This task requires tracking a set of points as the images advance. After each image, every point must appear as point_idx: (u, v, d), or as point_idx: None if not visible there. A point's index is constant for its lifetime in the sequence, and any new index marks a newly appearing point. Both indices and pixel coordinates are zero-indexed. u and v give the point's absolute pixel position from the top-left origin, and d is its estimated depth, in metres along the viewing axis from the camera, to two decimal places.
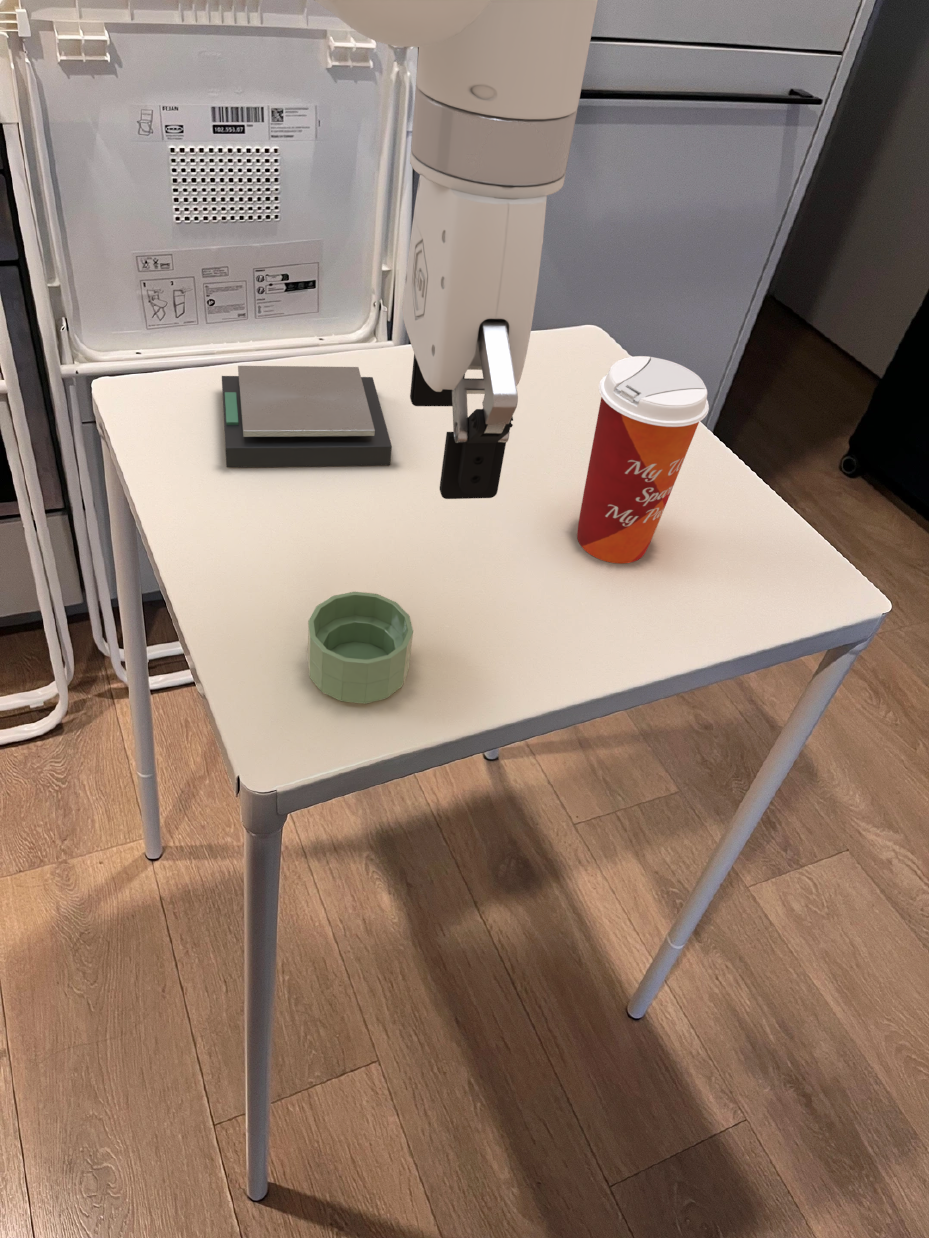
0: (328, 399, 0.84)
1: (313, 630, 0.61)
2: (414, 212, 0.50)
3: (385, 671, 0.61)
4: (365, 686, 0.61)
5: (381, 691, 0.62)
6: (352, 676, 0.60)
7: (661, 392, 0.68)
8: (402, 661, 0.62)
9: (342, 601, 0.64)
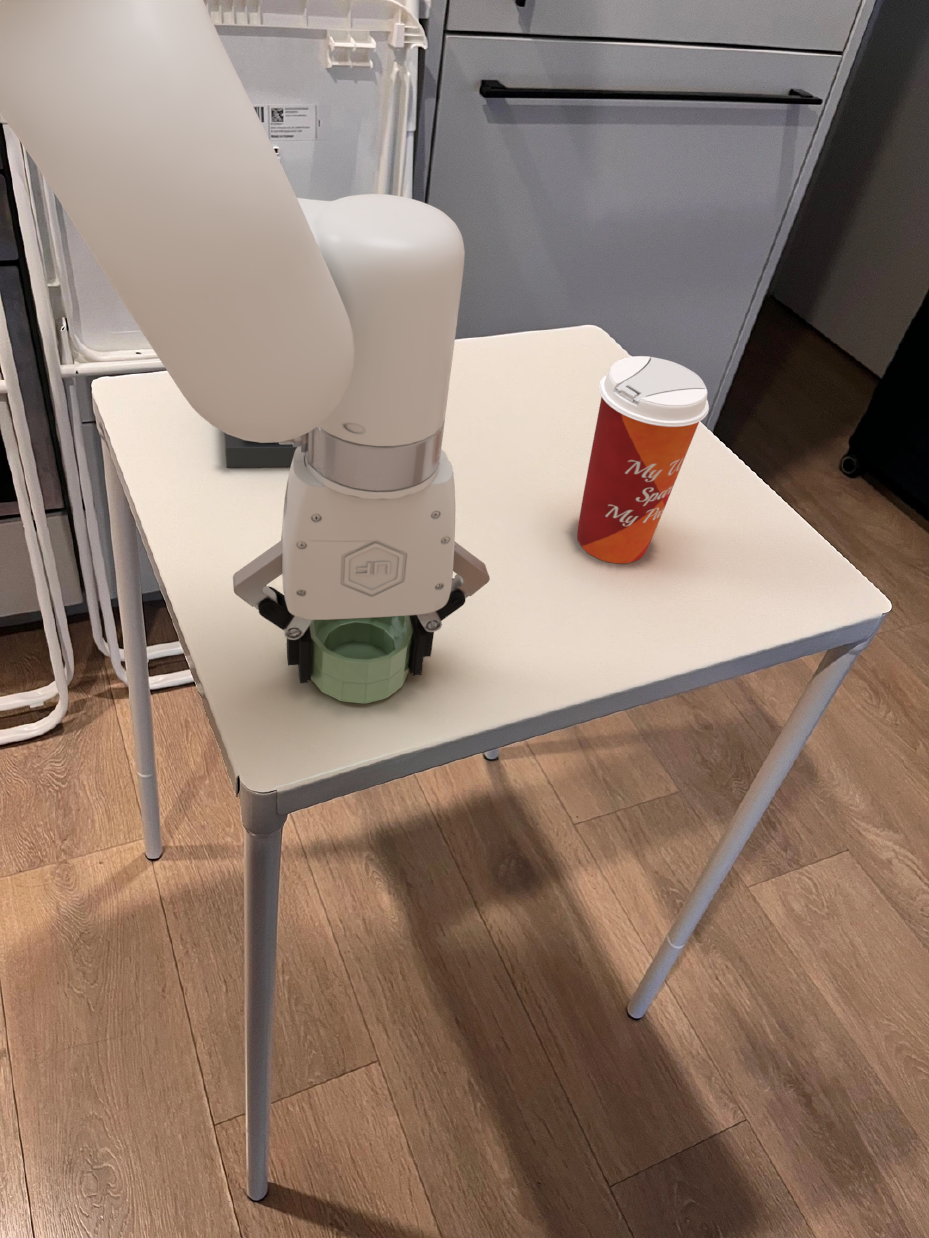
0: None
1: (313, 630, 0.61)
2: (307, 541, 0.53)
3: (385, 671, 0.61)
4: (365, 686, 0.61)
5: (381, 691, 0.62)
6: (352, 676, 0.60)
7: (661, 392, 0.68)
8: (402, 661, 0.62)
9: None
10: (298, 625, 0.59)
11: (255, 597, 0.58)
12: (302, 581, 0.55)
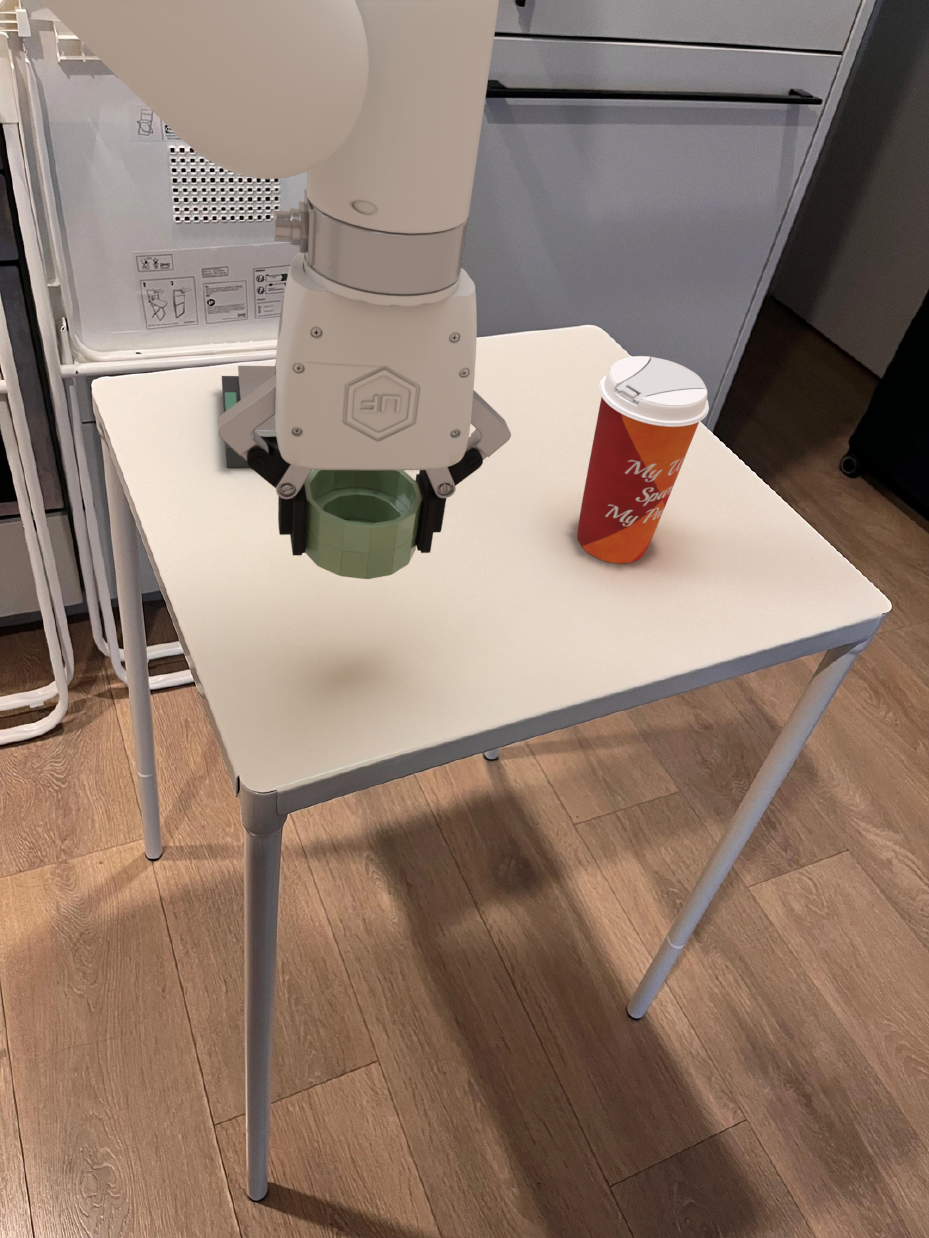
0: None
1: (309, 492, 0.54)
2: (306, 363, 0.46)
3: (391, 540, 0.53)
4: (367, 557, 0.54)
5: (385, 565, 0.55)
6: (353, 543, 0.53)
7: (661, 392, 0.68)
8: (410, 531, 0.54)
9: None
10: (292, 480, 0.51)
11: (243, 443, 0.50)
12: (298, 416, 0.47)
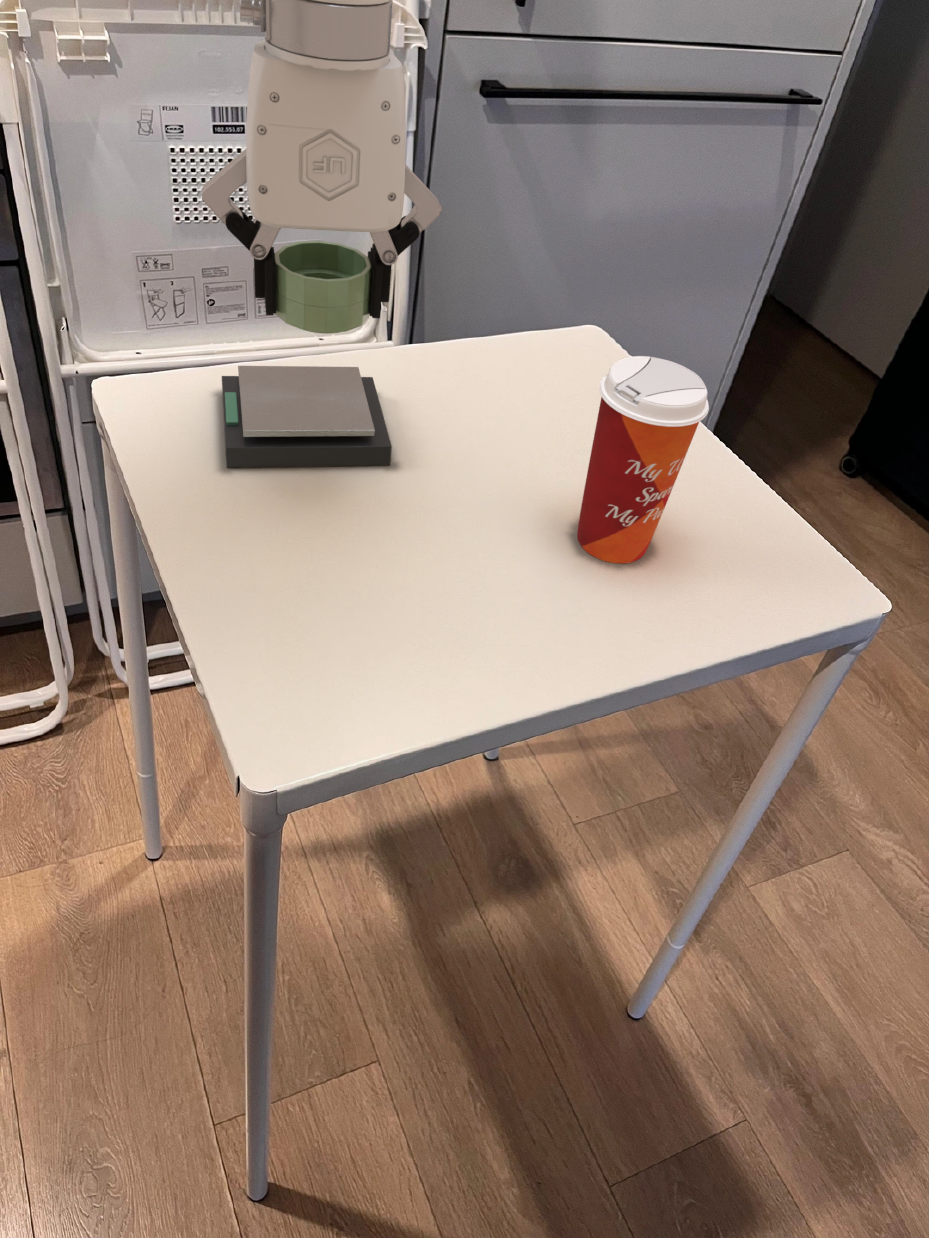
0: (328, 399, 0.84)
1: (278, 259, 0.66)
2: (267, 125, 0.58)
3: (344, 296, 0.65)
4: (326, 311, 0.66)
5: (341, 321, 0.67)
6: (313, 297, 0.65)
7: (661, 392, 0.68)
8: (361, 292, 0.66)
9: (307, 248, 0.69)
10: (262, 242, 0.64)
11: (222, 207, 0.62)
12: (263, 175, 0.60)
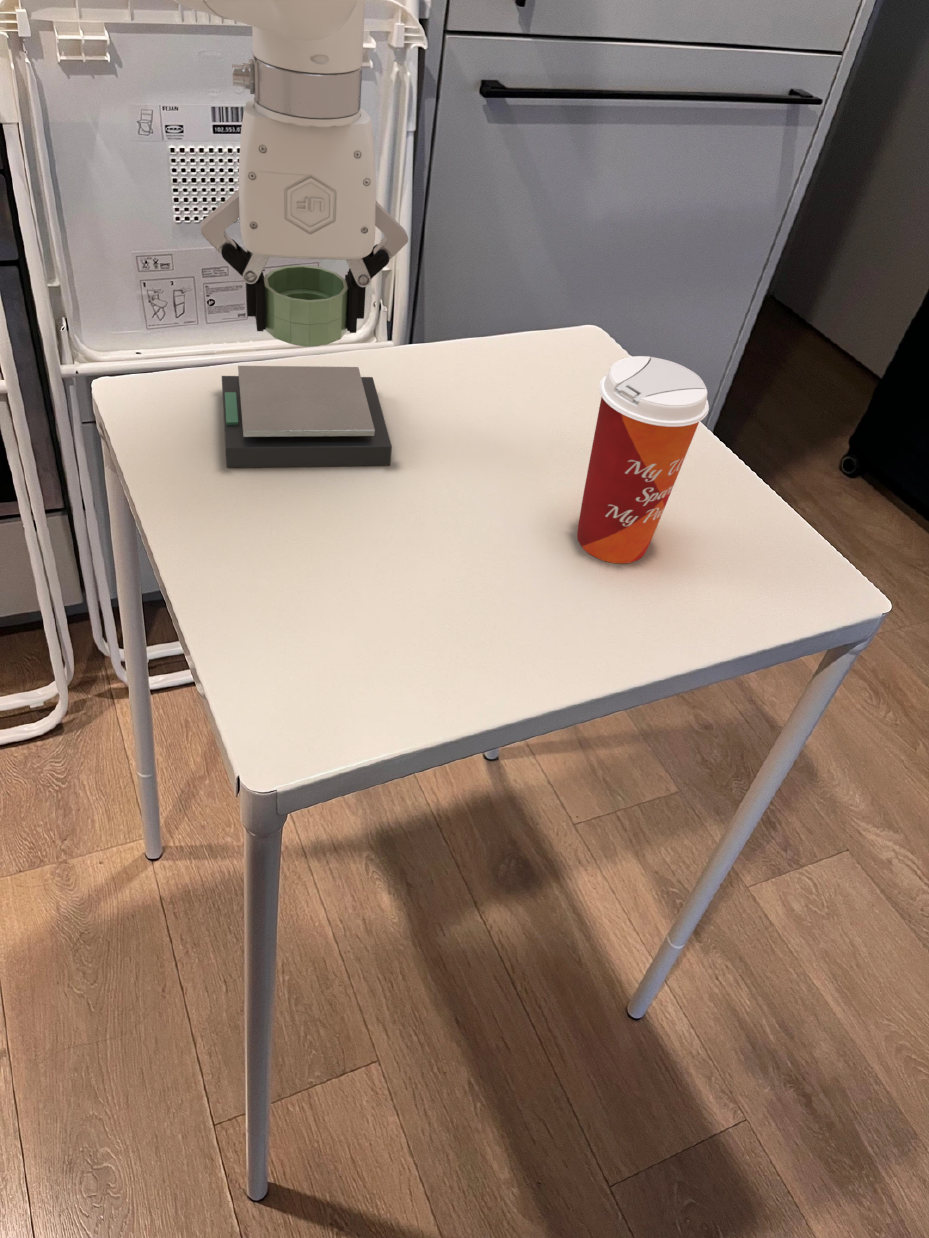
0: (328, 399, 0.84)
1: (267, 282, 0.76)
2: (257, 172, 0.68)
3: (324, 314, 0.76)
4: (309, 327, 0.76)
5: (322, 336, 0.77)
6: (298, 316, 0.75)
7: (661, 392, 0.68)
8: (339, 310, 0.77)
9: (292, 272, 0.79)
10: (253, 269, 0.74)
11: (218, 240, 0.72)
12: (254, 213, 0.70)
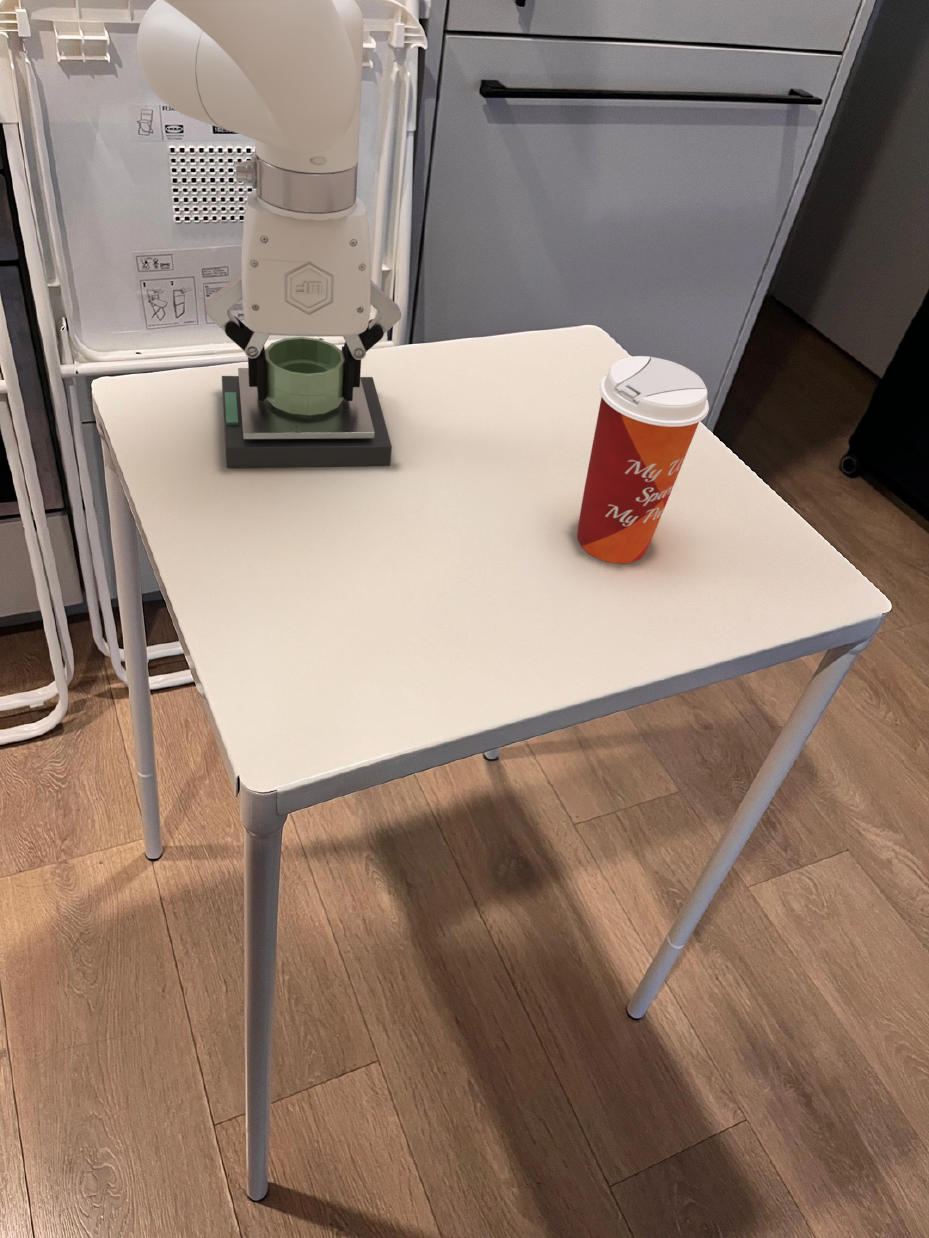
0: None
1: (268, 356, 0.80)
2: (258, 259, 0.72)
3: (322, 386, 0.80)
4: (307, 398, 0.80)
5: (320, 405, 0.81)
6: (297, 388, 0.79)
7: (661, 392, 0.68)
8: (336, 382, 0.81)
9: (291, 343, 0.83)
10: (255, 345, 0.78)
11: (222, 319, 0.77)
12: (256, 296, 0.74)
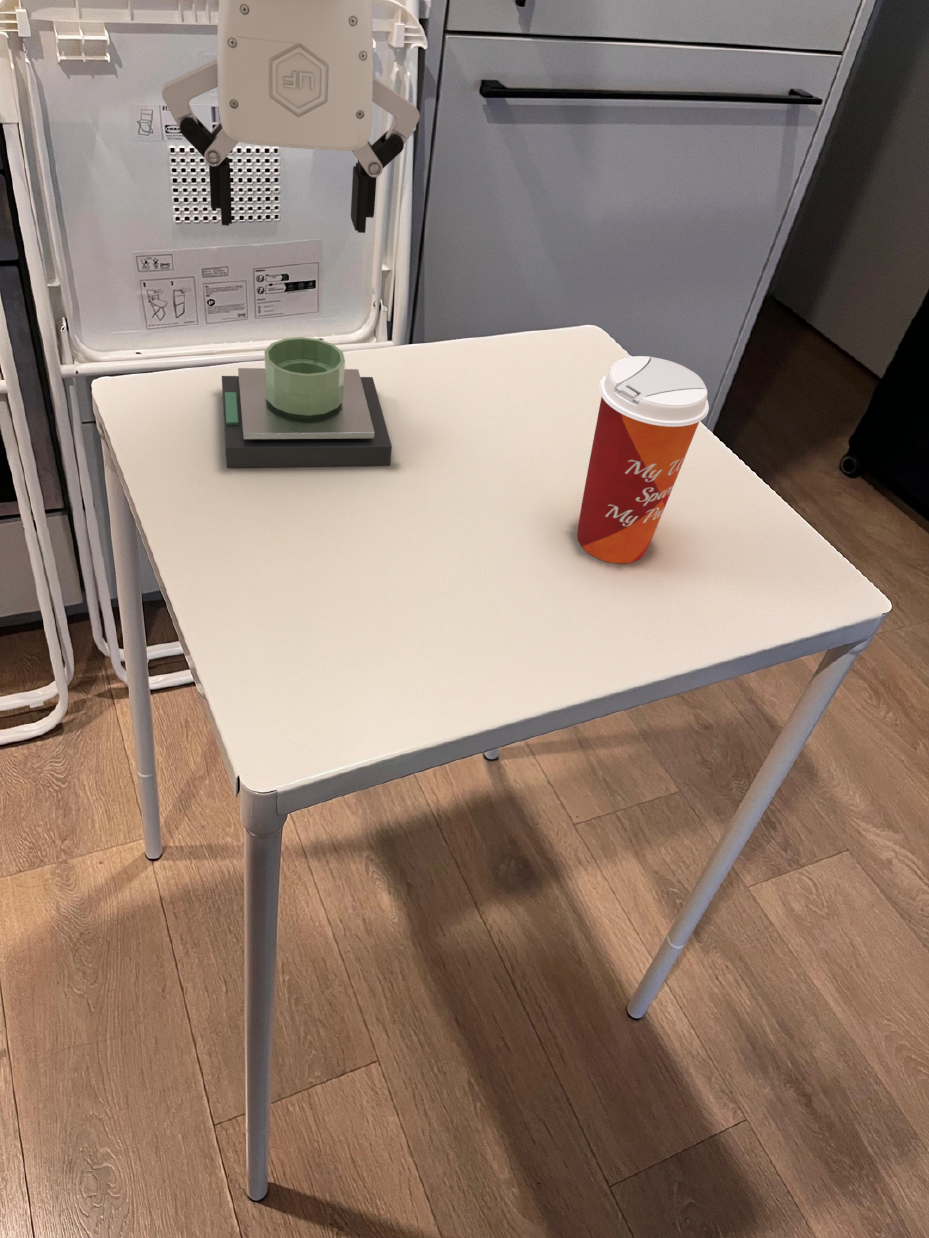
0: None
1: (268, 356, 0.80)
2: (237, 37, 0.59)
3: (322, 386, 0.80)
4: (307, 398, 0.80)
5: (320, 406, 0.81)
6: (297, 388, 0.79)
7: (661, 392, 0.68)
8: (336, 382, 0.81)
9: (292, 343, 0.83)
10: (219, 149, 0.65)
11: (180, 109, 0.63)
12: (234, 89, 0.61)
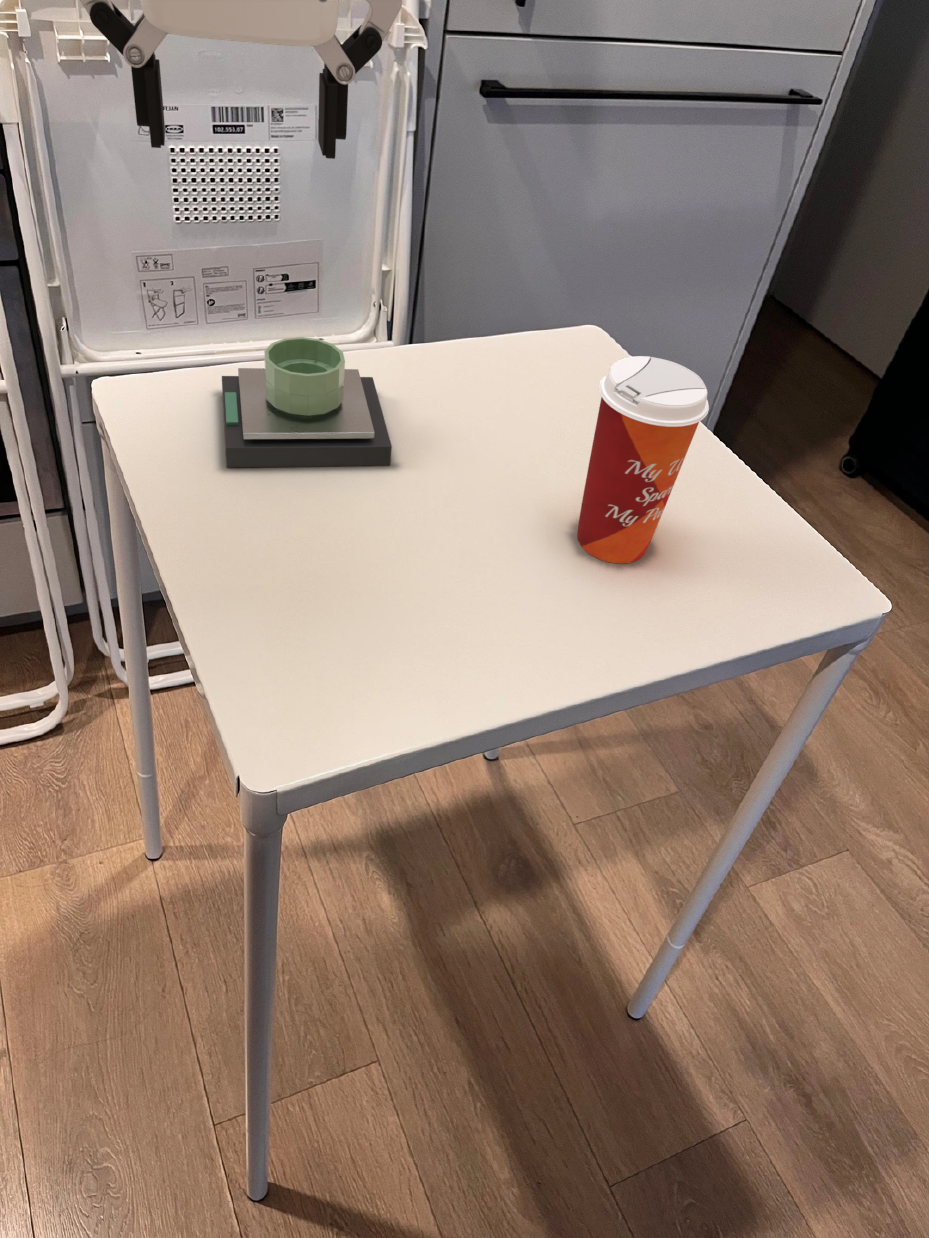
0: None
1: (268, 356, 0.80)
2: None
3: (322, 386, 0.80)
4: (307, 398, 0.80)
5: (320, 406, 0.81)
6: (297, 388, 0.79)
7: (661, 392, 0.68)
8: (336, 382, 0.81)
9: (292, 343, 0.83)
10: (142, 44, 0.50)
11: None
12: None
